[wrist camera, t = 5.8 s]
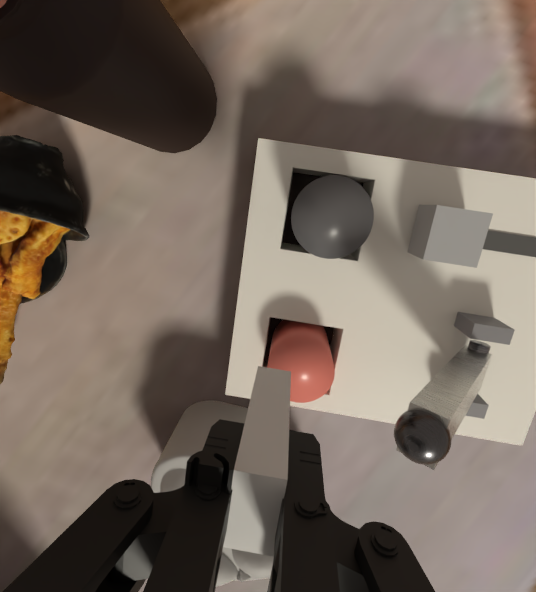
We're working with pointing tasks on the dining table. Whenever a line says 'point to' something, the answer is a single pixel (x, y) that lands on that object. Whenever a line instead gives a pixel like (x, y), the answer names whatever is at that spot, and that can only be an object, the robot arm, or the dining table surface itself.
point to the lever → (442, 406)
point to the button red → (303, 359)
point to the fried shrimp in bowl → (32, 227)
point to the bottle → (108, 68)
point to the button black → (332, 217)
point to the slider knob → (449, 234)
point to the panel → (395, 289)
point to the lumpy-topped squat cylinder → (173, 471)
